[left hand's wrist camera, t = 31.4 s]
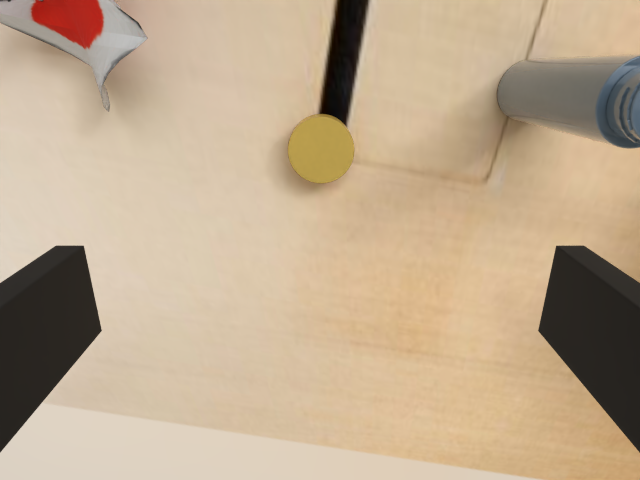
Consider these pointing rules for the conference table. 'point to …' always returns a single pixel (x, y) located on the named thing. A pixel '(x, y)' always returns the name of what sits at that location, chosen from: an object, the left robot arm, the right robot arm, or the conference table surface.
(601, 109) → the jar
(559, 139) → the conference table surface
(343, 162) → the lid
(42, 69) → the conference table surface
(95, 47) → the multicoloured piece
